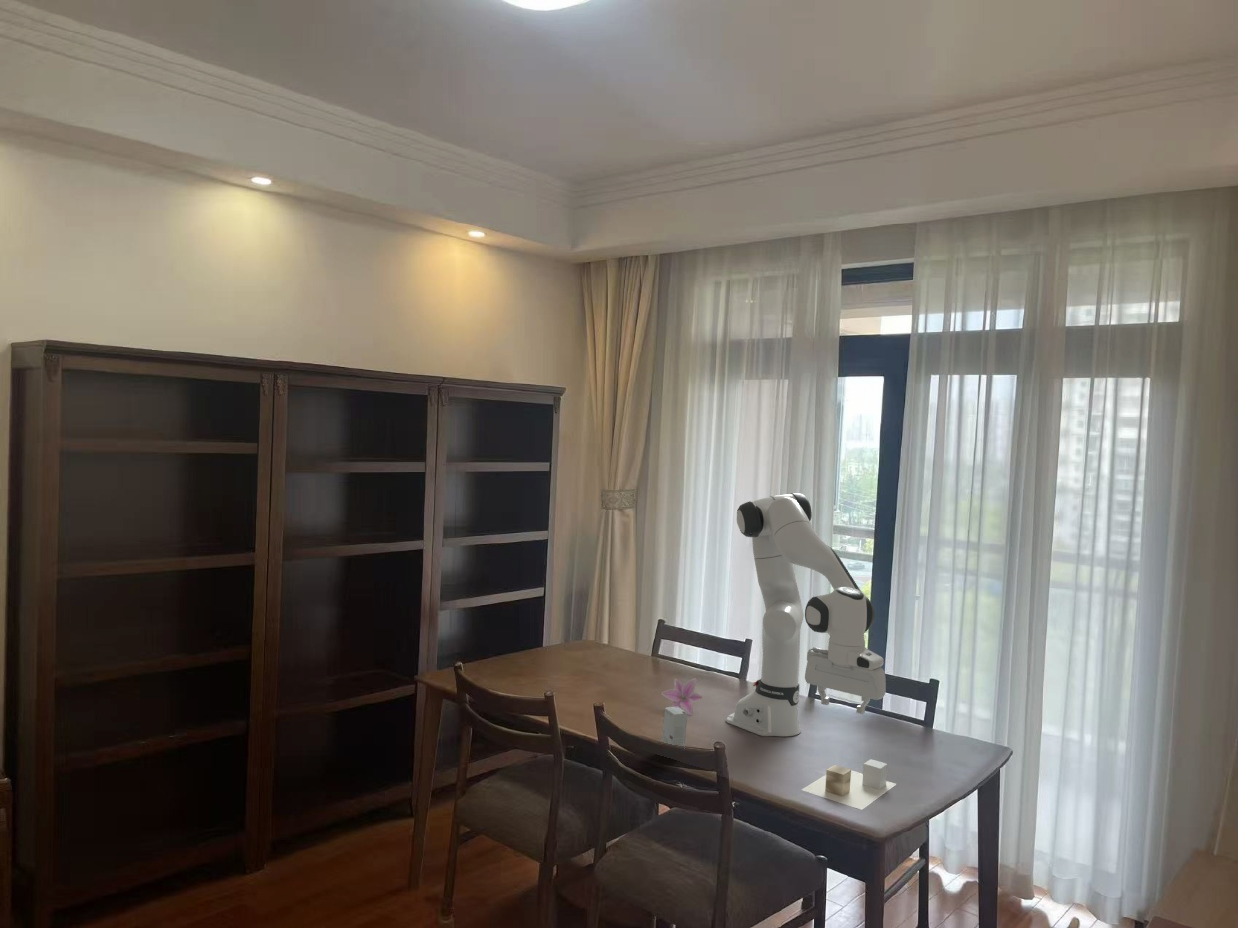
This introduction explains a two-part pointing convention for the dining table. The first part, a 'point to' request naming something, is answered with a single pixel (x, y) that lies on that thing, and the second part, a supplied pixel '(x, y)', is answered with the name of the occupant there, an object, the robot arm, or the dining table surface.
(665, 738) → the skincare box
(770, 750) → the dining table surface
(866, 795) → the cream flat sheet
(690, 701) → the lily
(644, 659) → the dining table surface
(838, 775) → the birch block
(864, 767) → the grey block
